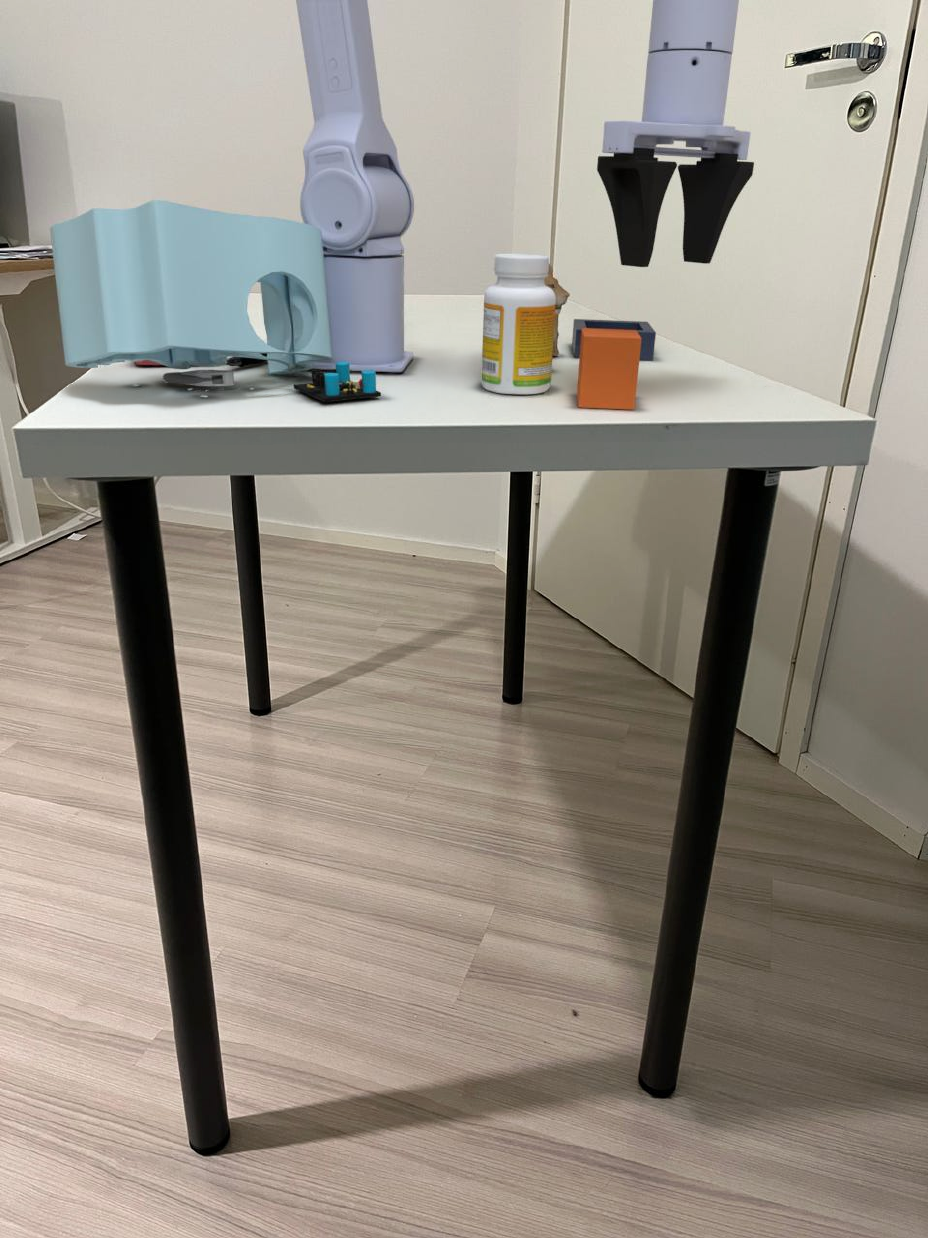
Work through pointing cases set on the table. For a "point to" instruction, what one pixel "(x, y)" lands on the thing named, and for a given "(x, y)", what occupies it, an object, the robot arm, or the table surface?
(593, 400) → the orange rectangular block
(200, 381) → the grey piece
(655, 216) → the robot arm
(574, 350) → the blue square tray
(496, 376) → the supplement bottle
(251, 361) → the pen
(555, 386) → the table surface
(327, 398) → the circuit board
